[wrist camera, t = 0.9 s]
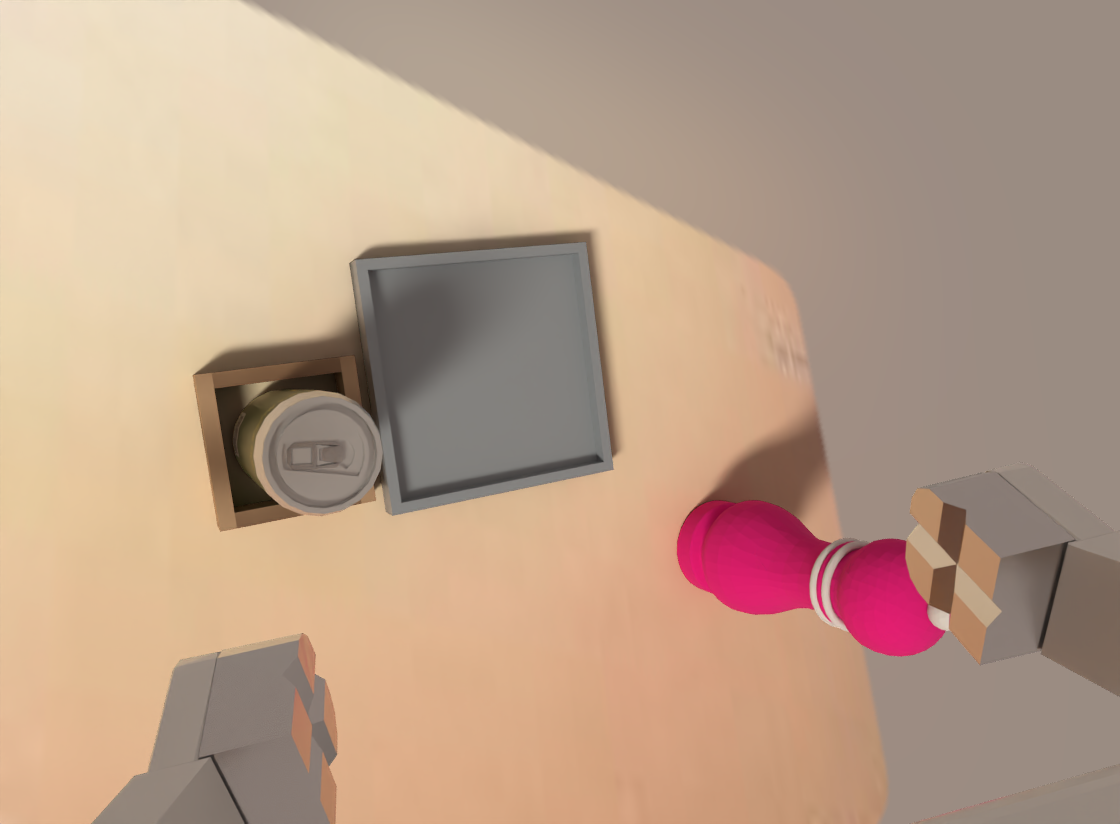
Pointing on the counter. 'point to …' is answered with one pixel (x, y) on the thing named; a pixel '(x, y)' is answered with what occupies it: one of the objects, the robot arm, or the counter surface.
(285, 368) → the can holder
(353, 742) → the counter surface
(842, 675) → the counter surface
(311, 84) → the counter surface
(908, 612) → the pepper mill
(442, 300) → the tray
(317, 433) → the beer can
